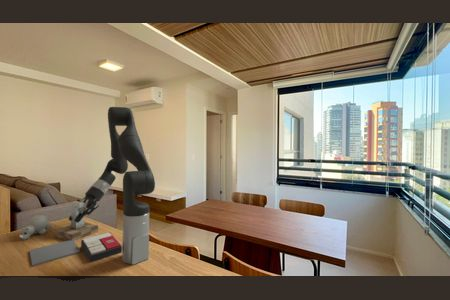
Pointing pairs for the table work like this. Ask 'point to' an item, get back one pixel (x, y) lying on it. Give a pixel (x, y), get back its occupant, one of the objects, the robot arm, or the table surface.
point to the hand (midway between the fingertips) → (73, 220)
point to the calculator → (100, 247)
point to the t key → (76, 214)
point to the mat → (53, 252)
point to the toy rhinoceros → (35, 226)
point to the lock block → (76, 231)
